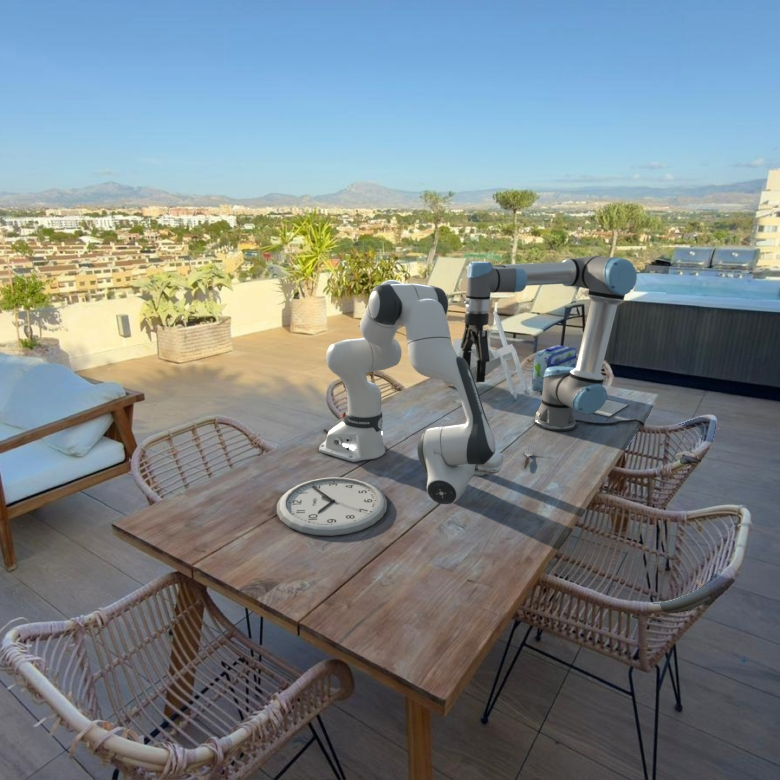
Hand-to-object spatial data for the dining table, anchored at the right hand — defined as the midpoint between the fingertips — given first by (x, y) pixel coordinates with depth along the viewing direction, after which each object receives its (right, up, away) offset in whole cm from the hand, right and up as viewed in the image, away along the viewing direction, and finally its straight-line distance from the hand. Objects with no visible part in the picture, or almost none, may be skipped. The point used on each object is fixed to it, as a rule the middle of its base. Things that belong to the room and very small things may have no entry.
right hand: (472, 376), depth 172 cm
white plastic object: (+14, -6, +71) cm, 73 cm away
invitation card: (+64, -12, +54) cm, 85 cm away
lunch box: (+50, -5, +76) cm, 91 cm away
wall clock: (-43, -36, -29) cm, 63 cm away
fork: (+18, -28, 0) cm, 33 cm away
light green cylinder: (+1, -30, -9) cm, 32 cm away
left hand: (-4, -20, -23) cm, 31 cm away
